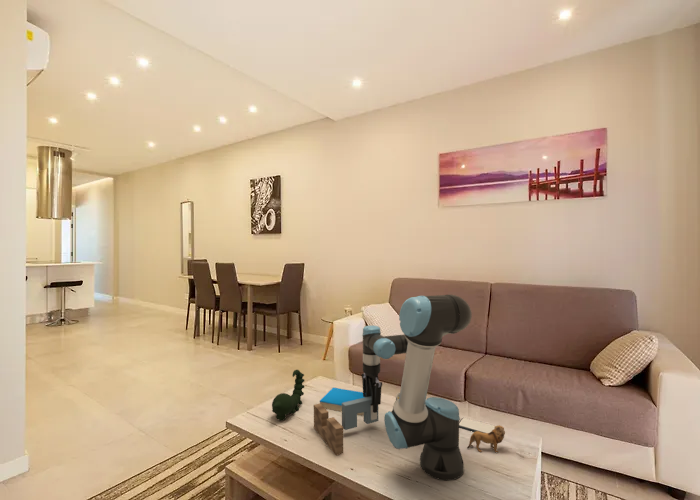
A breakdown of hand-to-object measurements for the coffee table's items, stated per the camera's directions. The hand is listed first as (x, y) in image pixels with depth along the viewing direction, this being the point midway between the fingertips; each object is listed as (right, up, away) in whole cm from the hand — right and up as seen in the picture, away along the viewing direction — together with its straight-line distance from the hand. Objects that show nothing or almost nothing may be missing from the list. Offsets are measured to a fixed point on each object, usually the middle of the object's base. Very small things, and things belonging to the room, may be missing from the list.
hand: (371, 417), depth 152 cm
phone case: (+46, -5, 0) cm, 46 cm away
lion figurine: (+43, -5, -15) cm, 46 cm away
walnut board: (-18, -5, -9) cm, 21 cm away
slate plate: (-5, -2, -3) cm, 6 cm away
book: (-9, -5, +22) cm, 24 cm away
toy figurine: (-38, -4, +13) cm, 40 cm away
